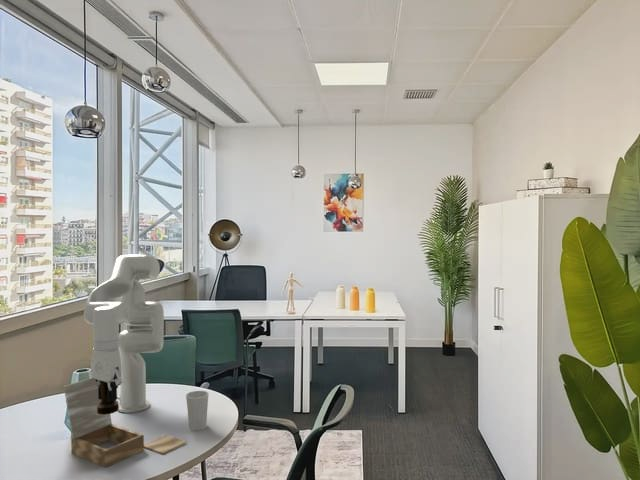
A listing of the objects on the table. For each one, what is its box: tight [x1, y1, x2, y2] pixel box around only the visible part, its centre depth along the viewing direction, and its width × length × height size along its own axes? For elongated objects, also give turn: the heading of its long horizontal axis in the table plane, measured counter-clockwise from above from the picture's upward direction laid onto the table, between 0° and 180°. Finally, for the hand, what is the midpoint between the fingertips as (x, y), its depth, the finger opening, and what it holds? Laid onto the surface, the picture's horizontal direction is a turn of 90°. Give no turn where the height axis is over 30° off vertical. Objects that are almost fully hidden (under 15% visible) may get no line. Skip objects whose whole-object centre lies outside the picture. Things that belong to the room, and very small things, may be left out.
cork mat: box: [144, 434, 187, 455], centre depth 172 cm, size 10×10×1 cm
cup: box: [185, 390, 209, 431], centre depth 187 cm, size 8×8×12 cm
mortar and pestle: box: [97, 381, 119, 415], centre depth 167 cm, size 7×6×18 cm
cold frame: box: [63, 377, 145, 468], centre depth 168 cm, size 22×14×22 cm, turn 58°
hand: (107, 399), depth 167 cm, fingers closed on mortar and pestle, 3 cm apart
